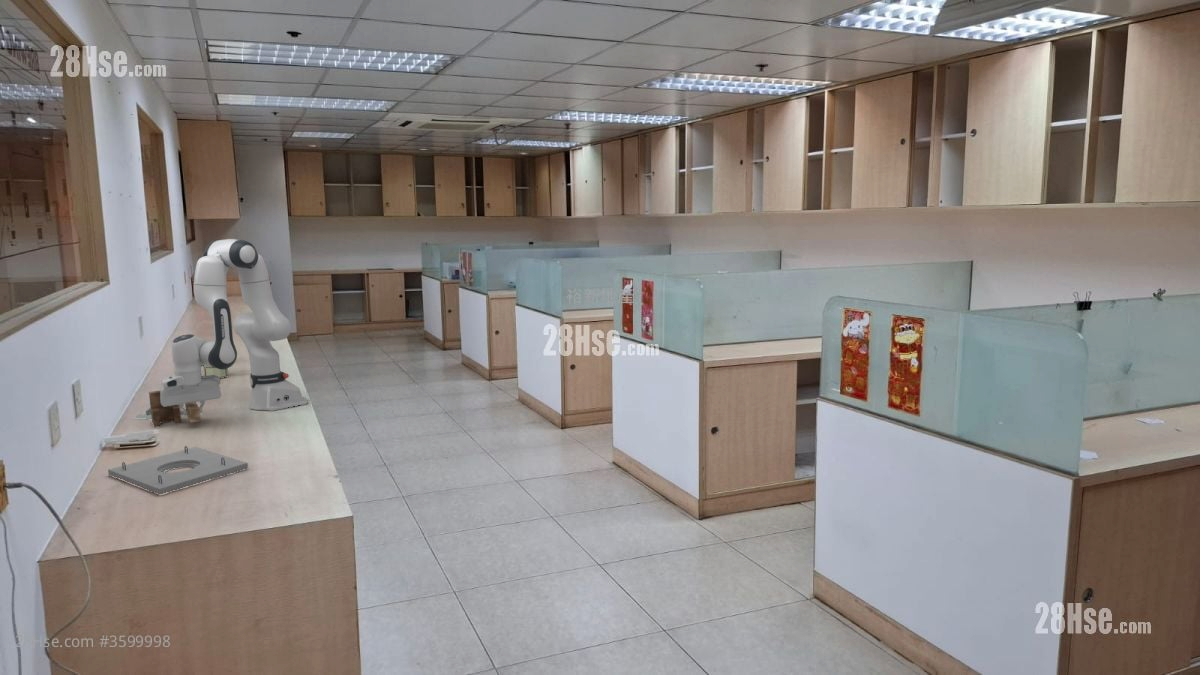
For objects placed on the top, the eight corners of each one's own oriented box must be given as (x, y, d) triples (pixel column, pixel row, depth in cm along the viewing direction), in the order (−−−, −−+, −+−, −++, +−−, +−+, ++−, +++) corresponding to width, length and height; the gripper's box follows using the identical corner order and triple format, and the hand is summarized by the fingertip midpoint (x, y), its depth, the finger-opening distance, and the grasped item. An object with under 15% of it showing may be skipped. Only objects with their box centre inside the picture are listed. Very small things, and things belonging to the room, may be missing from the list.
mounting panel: (194, 440, 249) (247, 455, 233) (196, 454, 250) (248, 471, 234) (107, 462, 227) (158, 481, 211) (109, 477, 228) (160, 498, 212)
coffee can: (200, 378, 364) (198, 349, 362) (221, 374, 373) (219, 346, 370) (211, 380, 359) (208, 351, 356) (232, 377, 367) (230, 348, 364)
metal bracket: (155, 397, 303) (188, 399, 300) (159, 409, 305) (192, 411, 303) (130, 416, 290) (164, 418, 288) (134, 428, 293) (168, 430, 290)
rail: (196, 412, 290) (194, 398, 289) (200, 420, 279) (199, 406, 278) (186, 414, 288) (184, 400, 287) (190, 422, 277) (188, 407, 276)
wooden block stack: (178, 418, 292) (175, 388, 290) (181, 423, 286) (178, 392, 284) (151, 422, 287) (148, 391, 285) (154, 427, 280) (150, 396, 278)
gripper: (217, 372, 289) (222, 406, 291) (157, 380, 277) (161, 416, 280) (220, 375, 283) (224, 410, 286) (158, 384, 272) (163, 420, 275)
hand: (193, 413), depth 283 cm, fingers closed on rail, 3 cm apart
